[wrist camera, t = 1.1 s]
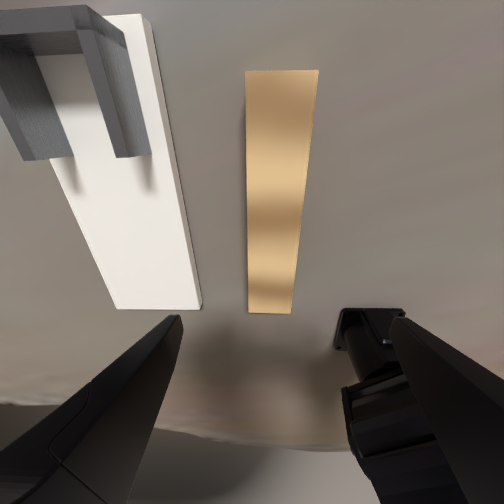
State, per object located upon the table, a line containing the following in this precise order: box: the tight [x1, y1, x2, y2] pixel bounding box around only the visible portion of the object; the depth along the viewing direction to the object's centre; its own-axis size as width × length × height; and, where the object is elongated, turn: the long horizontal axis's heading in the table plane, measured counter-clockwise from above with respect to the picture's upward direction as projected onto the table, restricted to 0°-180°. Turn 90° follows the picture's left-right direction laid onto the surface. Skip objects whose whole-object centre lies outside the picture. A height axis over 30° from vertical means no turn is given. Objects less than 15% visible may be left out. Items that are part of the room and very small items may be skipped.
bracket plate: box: [0, 5, 202, 310], centre depth 17 cm, size 22×9×4 cm, turn 2°
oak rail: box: [245, 70, 319, 314], centre depth 17 cm, size 18×4×3 cm, turn 0°
